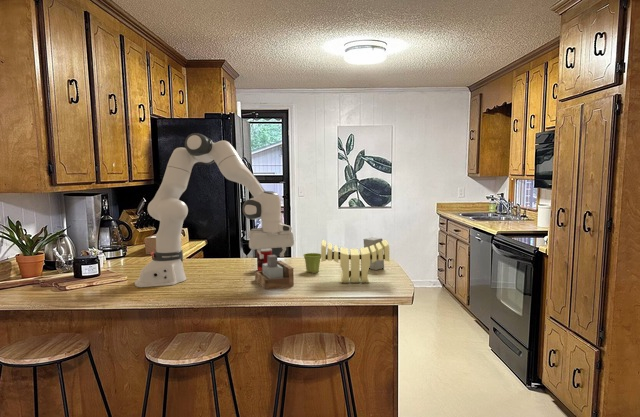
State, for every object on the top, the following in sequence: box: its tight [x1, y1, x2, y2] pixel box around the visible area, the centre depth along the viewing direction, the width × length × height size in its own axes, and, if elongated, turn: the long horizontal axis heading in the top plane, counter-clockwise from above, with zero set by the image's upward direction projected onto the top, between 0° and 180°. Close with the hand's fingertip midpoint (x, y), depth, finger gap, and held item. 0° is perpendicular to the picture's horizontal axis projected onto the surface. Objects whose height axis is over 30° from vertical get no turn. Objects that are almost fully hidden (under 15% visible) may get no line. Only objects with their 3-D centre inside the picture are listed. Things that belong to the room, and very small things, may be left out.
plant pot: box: [303, 252, 321, 274], centre depth 206 cm, size 9×9×9 cm
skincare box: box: [363, 236, 385, 271], centre depth 211 cm, size 8×7×16 cm
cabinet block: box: [262, 254, 283, 279], centre depth 185 cm, size 6×12×12 cm, turn 24°
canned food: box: [256, 248, 273, 271], centre depth 210 cm, size 8×8×11 cm
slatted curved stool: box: [320, 239, 390, 284], centre depth 188 cm, size 30×16×18 cm, turn 87°
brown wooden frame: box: [254, 260, 295, 290], centre depth 185 cm, size 18×13×8 cm
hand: (271, 257), depth 184 cm, fingers open, 8 cm apart
